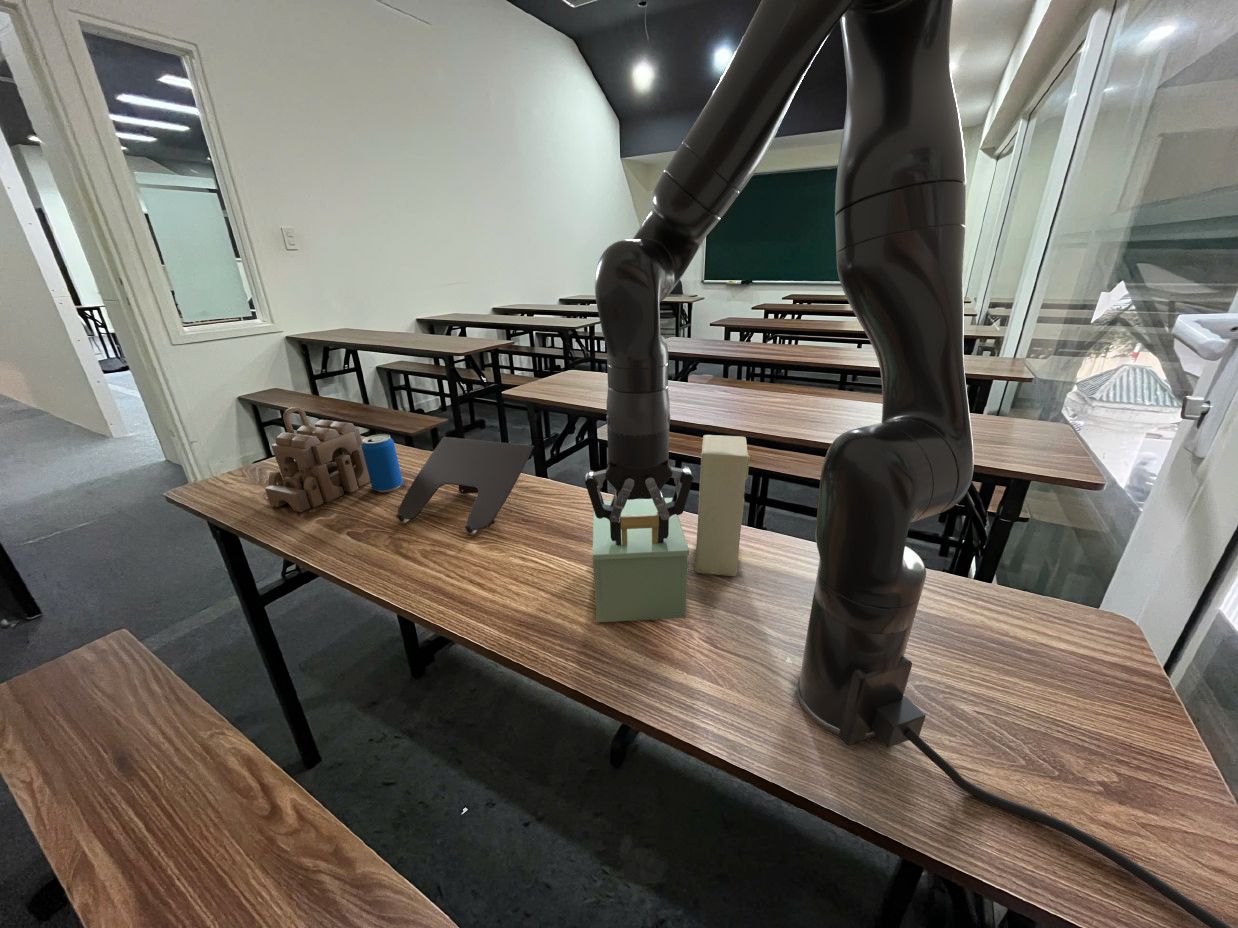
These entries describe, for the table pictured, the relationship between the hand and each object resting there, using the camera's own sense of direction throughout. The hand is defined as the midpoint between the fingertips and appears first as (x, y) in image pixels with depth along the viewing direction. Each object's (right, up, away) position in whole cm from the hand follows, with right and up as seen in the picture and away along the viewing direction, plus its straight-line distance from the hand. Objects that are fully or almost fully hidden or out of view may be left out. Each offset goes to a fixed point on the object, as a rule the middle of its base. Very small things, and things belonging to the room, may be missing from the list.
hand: (639, 540), depth 65 cm
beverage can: (-56, +5, +45) cm, 72 cm away
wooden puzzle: (-70, +5, +46) cm, 84 cm away
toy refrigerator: (+14, -6, +15) cm, 22 cm away
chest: (0, -9, +10) cm, 13 cm away
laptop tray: (-35, +1, +36) cm, 50 cm away
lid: (0, +1, +5) cm, 5 cm away
